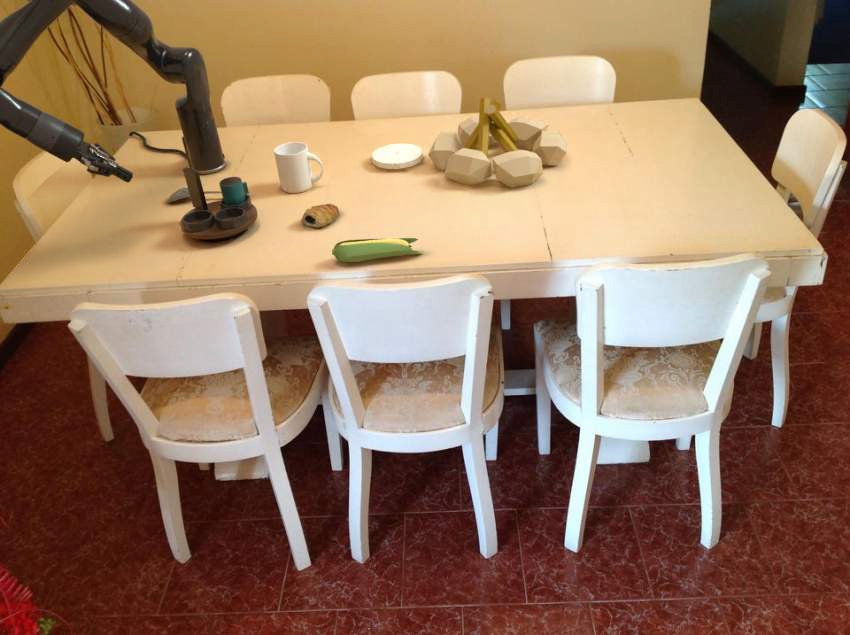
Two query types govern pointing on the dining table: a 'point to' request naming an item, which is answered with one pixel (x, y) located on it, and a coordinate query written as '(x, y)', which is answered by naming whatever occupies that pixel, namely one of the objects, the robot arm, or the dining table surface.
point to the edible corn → (372, 249)
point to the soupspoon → (185, 193)
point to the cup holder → (217, 209)
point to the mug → (295, 167)
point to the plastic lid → (397, 156)
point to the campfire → (516, 134)
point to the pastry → (320, 215)
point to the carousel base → (224, 237)
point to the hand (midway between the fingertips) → (131, 178)
